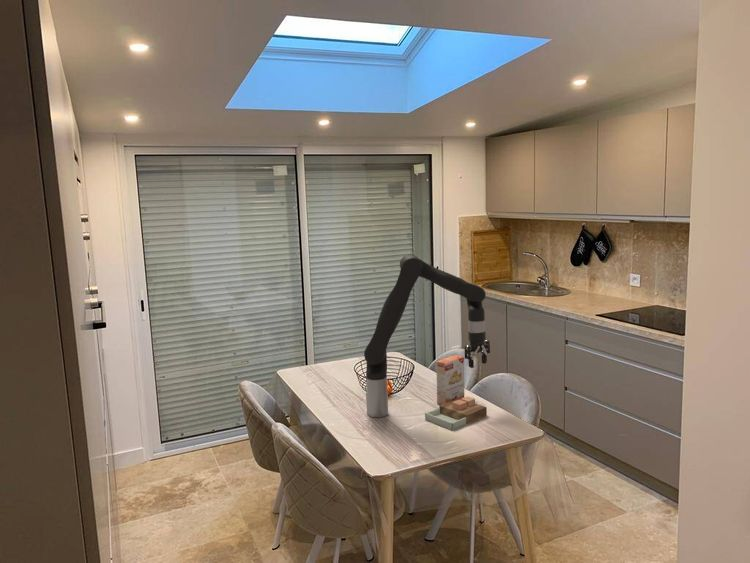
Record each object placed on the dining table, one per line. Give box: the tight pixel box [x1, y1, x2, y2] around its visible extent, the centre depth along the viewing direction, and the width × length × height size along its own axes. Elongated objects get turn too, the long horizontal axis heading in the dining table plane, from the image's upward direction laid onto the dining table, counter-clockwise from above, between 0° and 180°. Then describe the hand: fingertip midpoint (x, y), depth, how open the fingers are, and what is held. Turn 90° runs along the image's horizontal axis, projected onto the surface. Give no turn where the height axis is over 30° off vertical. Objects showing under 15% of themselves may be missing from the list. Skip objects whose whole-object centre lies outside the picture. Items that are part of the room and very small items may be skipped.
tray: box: [424, 407, 467, 431], centre depth 233 cm, size 16×9×3 cm, turn 39°
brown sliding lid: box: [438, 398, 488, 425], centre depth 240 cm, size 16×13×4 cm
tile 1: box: [452, 400, 467, 410], centre depth 238 cm, size 4×4×2 cm
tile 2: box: [461, 396, 476, 407], centre depth 242 cm, size 4×4×2 cm
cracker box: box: [435, 354, 465, 405], centre depth 256 cm, size 14×6×21 cm, turn 132°
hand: (477, 365), depth 243 cm, fingers open, 8 cm apart
